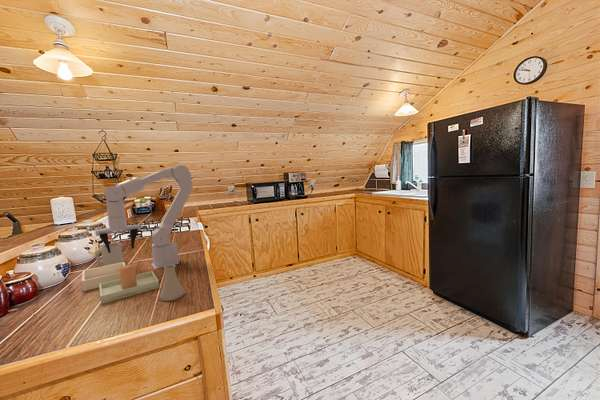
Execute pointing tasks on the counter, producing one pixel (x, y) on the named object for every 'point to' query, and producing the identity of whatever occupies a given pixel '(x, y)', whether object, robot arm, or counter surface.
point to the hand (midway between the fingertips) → (121, 250)
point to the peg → (128, 276)
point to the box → (100, 275)
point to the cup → (110, 254)
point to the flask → (171, 285)
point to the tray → (115, 291)
